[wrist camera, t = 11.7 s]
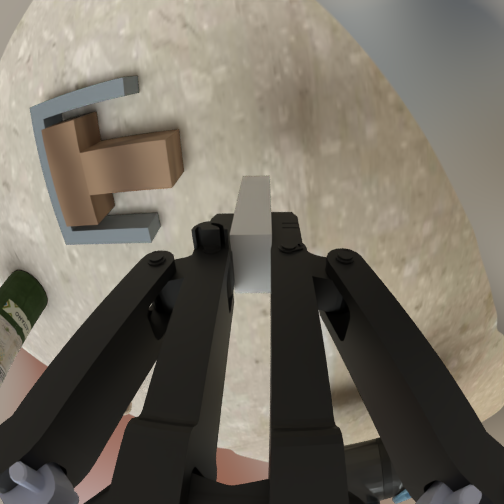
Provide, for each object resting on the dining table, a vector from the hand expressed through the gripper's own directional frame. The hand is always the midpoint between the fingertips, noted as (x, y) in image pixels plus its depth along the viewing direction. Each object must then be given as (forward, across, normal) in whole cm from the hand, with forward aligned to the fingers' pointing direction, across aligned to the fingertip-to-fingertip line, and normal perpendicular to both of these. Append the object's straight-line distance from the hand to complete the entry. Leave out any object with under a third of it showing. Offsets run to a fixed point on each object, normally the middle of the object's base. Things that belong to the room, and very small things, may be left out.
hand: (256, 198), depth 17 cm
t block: (+10, +13, -1) cm, 16 cm away
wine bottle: (+10, +36, +17) cm, 41 cm away
